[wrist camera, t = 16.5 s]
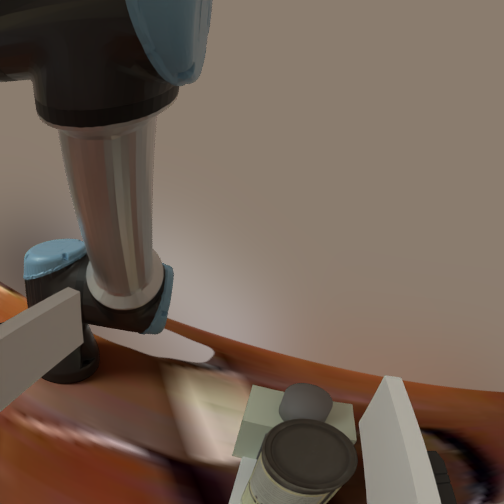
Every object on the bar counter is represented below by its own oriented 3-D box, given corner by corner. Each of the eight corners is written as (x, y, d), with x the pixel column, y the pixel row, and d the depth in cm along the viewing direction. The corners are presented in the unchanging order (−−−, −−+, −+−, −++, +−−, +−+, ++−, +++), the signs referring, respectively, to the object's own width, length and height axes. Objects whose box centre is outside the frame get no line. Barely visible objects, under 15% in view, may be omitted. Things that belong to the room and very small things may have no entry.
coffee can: (245, 471, 35) (268, 410, 31) (314, 481, 34) (353, 423, 30) (232, 528, 25) (256, 482, 21) (312, 538, 24) (362, 493, 20)
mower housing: (331, 541, 24) (375, 506, 20) (209, 523, 25) (221, 486, 22) (332, 439, 44) (359, 390, 40) (242, 421, 45) (256, 370, 42)
